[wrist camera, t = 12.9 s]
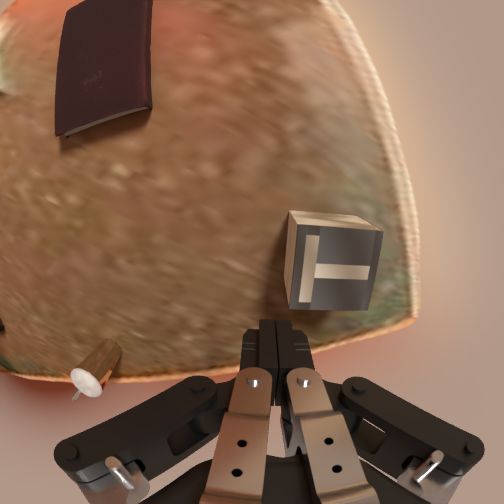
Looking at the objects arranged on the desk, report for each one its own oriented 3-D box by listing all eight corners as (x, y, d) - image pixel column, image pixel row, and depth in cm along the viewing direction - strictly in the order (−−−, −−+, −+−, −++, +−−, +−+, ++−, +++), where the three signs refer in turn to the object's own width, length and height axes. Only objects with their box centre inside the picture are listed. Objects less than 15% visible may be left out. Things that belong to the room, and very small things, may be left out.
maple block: (367, 310, 22) (346, 279, 28) (383, 231, 20) (355, 215, 26) (289, 309, 22) (283, 276, 29) (298, 225, 20) (289, 210, 26)
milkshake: (92, 346, 33) (59, 388, 24) (106, 328, 32) (69, 373, 22) (115, 366, 34) (86, 411, 25) (131, 350, 33) (100, 399, 23)
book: (157, -15, 18) (149, -28, 15) (156, 110, 24) (143, 105, 21) (77, 18, 19) (64, 11, 16) (68, 138, 25) (51, 138, 22)
